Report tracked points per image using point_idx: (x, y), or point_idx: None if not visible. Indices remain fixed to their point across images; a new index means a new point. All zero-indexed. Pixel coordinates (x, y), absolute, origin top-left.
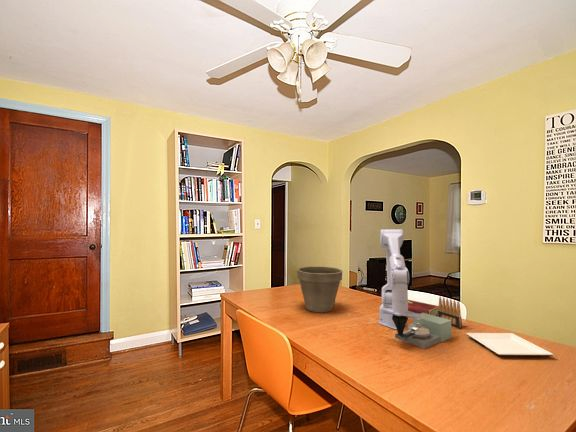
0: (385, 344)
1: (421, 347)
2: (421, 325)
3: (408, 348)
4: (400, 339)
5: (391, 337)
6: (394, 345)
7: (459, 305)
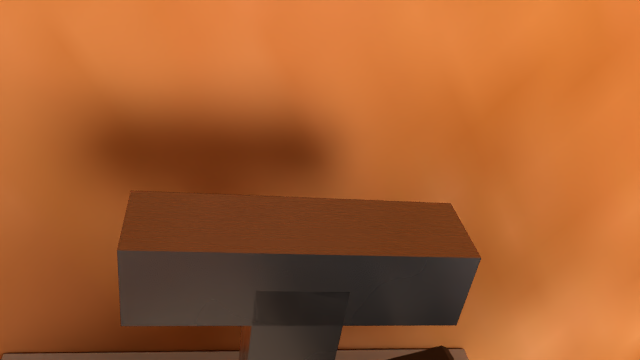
0: (572, 20)
1: (57, 356)
2: None
3: None
4: None
5: (563, 320)
6: (415, 114)
7: None
